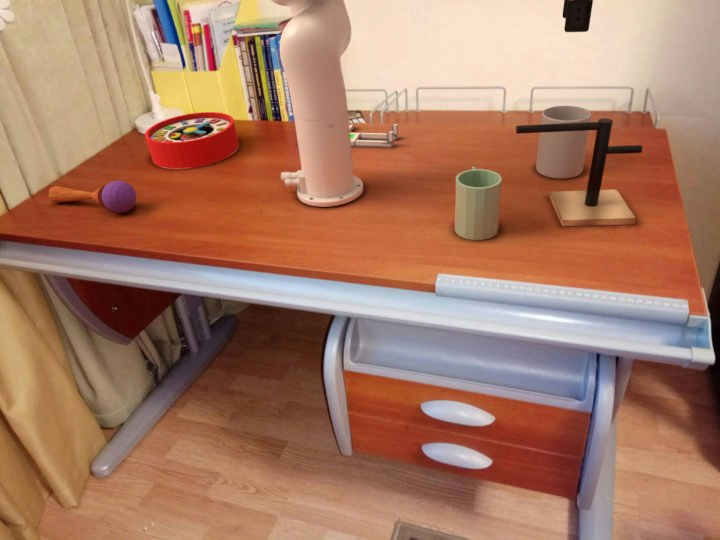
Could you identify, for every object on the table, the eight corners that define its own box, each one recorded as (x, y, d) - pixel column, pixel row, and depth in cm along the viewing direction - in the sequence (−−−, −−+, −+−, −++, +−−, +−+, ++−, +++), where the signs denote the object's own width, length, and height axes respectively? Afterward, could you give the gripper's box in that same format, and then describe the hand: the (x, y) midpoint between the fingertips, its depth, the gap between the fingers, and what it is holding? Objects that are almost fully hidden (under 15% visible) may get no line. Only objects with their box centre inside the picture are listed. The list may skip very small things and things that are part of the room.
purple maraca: (64, 176, 111) (139, 177, 104) (72, 204, 114) (146, 207, 106) (38, 183, 106) (115, 185, 99) (47, 212, 109) (123, 217, 101)
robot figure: (403, 129, 129) (315, 127, 135) (402, 115, 127) (313, 114, 133) (386, 157, 116) (290, 154, 122) (385, 142, 114) (288, 139, 120)
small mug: (500, 239, 86) (504, 187, 81) (455, 240, 87) (456, 189, 82) (492, 205, 95) (495, 156, 90) (452, 206, 96) (452, 158, 91)
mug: (579, 181, 100) (588, 122, 94) (531, 176, 103) (537, 119, 97) (588, 156, 109) (597, 101, 102) (543, 152, 112) (550, 98, 106)
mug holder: (513, 227, 88) (522, 136, 80) (505, 199, 97) (512, 113, 88) (637, 224, 86) (659, 130, 78) (618, 195, 94) (636, 107, 86)
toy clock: (125, 136, 123) (191, 108, 136) (134, 160, 126) (197, 131, 140) (187, 148, 113) (251, 117, 127) (194, 174, 117) (256, 141, 130)
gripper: (561, -116, 79) (547, 13, 89) (564, -114, 65) (548, 38, 75) (617, -121, 77) (597, 12, 87) (633, -120, 64) (607, 37, 73)
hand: (574, 24), depth 81 cm, fingers open, 9 cm apart
